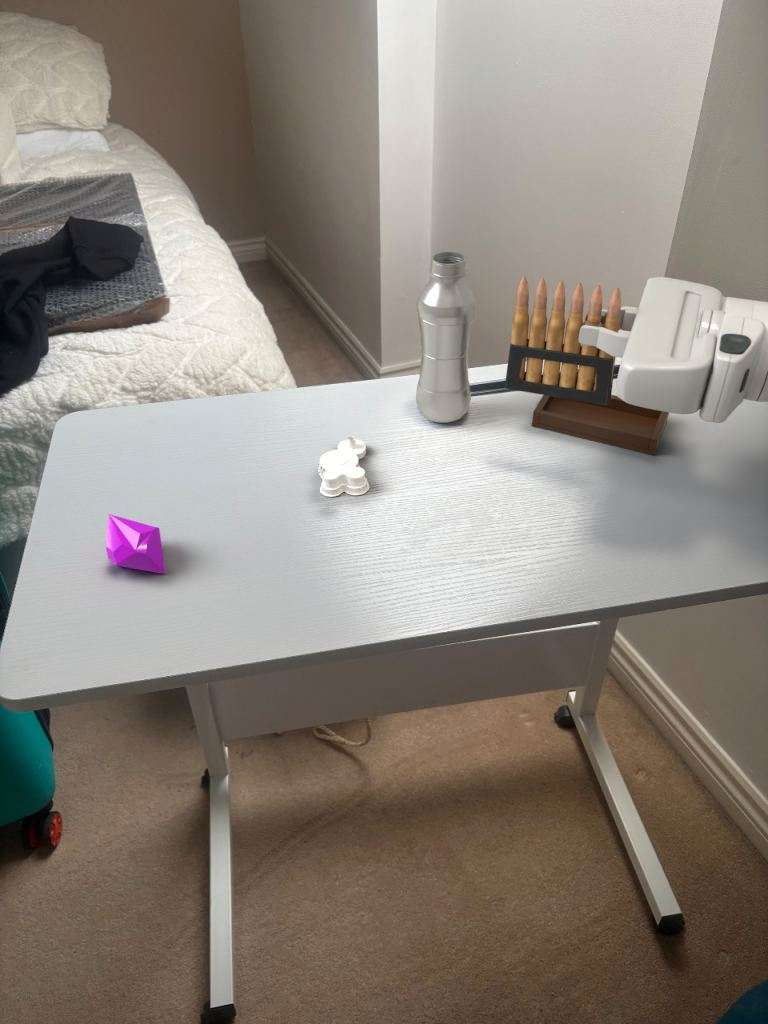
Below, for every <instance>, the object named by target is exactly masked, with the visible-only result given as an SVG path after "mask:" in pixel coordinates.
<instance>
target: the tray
mask: <svg viewBox="0 0 768 1024" xmlns="http://www.w3.org/2000/svg"><path fill="white" fill-rule="evenodd" d="M669 415H670V412H664V411H659V410H653V409H648V408H644V407H639V406H635V405H631V404H628V403H626V402H625V401H623V400H622V399H620V398H619V397H617V396H616V395H615V394H611V398H610V401H609V404H607V405H603V404H596V403H590V402H584V401H578V400H572V399H566V398H560V397H554V396H547V395H542V396H541V398H540V400H539V401H538V403H537V405H536V407H535V408H534V410H533V413H532V421H531V427H534V428H538V429H542V430H546V431H551V432H555V433H560V434H563V435H568V436H571V437H576V438H580V439H584V440H589V441H593V442H597V443H601V444H604V445H605V444H606V445H608V446H609V445H610V446H613V447H617V448H622V449H626V450H630V451H634V452H639V453H642V454H646V455H647V454H648V455H652V456H655V454H656V451H657V449H658V446H659V444H660V442H661V438H662V436H663V434H664V430H665V428H666V426H667V423H668V419H669Z"/></svg>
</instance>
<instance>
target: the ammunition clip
mask: <svg viewBox="0 0 768 1024" xmlns="http://www.w3.org/2000/svg"><path fill="white" fill-rule="evenodd" d="M528 282H529V281H528V279H527V276H525V275H524V276H522V278H521V279H520V282H519V285H518V288H517V293H516V301H515V307H514V313H513V316H512V323H511V338H510V345H509V351H508V359H507V367H506V375H505V382H504V389H505V390H511V391H516V392H524V393H529V394H535V395H541V396H543V395H547V396H554V397H560V398H566V399H572V400H578V401H584V402H590V403H596V404H603V405H607V404H609V401H610V398H611V395H612V393H613V392H612V391H613V384H614V373H615V364H616V358H617V357H614V356H611V355H609V354H608V353H606V352H604V351H602V350H600V349H599V348H597V347H595V346H589V345H583V344H581V343H579V340H578V339H579V332H580V329H581V326H582V324H583V323H584V321H583V319H584V318H583V317H584V305H585V304H584V303H585V295H584V288H583V285H582V283H581V282H579V283H577V285H576V287H575V289H574V292H573V295H572V298H571V301H570V302H571V304H570V310H569V312H568V313H569V314H568V318H567V322H566V319H565V318H566V317H565V314H566V287H565V284H564V281H563V280H560V281H559V283H558V284H557V286H556V289H555V292H554V296H553V299H552V307H551V312H550V316H549V319H548V317H547V308H548V307H547V304H548V303H547V302H548V288H547V283H546V280H545V279H544V278H543V277H542V278H541V279H540V281H539V283H538V285H537V288H536V291H535V296H534V303H533V309H532V314H531V317H530V314H529V299H530V292H529V291H530V289H529V283H528ZM621 307H622V294H621V289H620V288H619V287H615V289H614V291H613V293H612V294H611V297H610V300H609V303H608V306H607V309H608V312H607V316H606V321H605V324H604V328H606V329H609V330H612V331H615V332H618V330H620V329H619V322H620V312H621ZM602 309H603V291H602V287H601V285H599V284H598V285H597V286H596V287H595V288H594V290H593V293H592V296H591V299H590V302H589V308H588V310H589V313H588V317H587V321H591V322H598V323H601V312H602Z"/></svg>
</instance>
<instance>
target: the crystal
mask: <svg viewBox="0 0 768 1024" xmlns="http://www.w3.org/2000/svg"><path fill="white" fill-rule="evenodd" d="M105 538H106V539H105V549H106V555H107V558H108V559H109V561H110V562H111V563H112V564H113V565H114V566H117V567H123V568H128V569H135V570H141V571H147V572H151V573H157V574H163V575H166V567H165V560H164V554H163V553H164V552H163V547H162V546H163V545H162V538H161V530H160V527H158V526H154V525H151V524H146V523H143V522H139V521H137V520H132V519H128V518H125V517H121V516H117V515H114V514H110V513H108V517H107V527H106V537H105Z"/></svg>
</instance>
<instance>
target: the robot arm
mask: <svg viewBox="0 0 768 1024" xmlns="http://www.w3.org/2000/svg"><path fill="white" fill-rule="evenodd" d="M607 312H608V308H607V309H606V308H602V312H601V323H598V322H591V321H587V317H588V313H589V309H588V310H587V312H586V315H585V318H584V321H583V324H582V326H581V329H580V332H579V339H578V340H579V343H581V345H582V344H583V345H589V346H595V347H597V348H599V349H600V350H602V351H604V352H606V353H608V354H609V355H611V356H614V357H616V358H621V360H620V364H619V369H618V372H617V378H616V383H615V389H614V395H615V396H617V397H619V398H620V399H622V400H623V401H625V402H626V403H628V404H631V405H635V406H639V407H644V408H648V409H653V410H659V411H664V412H669V414H676V415H692V414H695V413H698V411H699V418H700V419H701V420H703V421H705V422H707V423H708V422H709V423H714V424H722V423H724V422H725V421H726V420H727V419H728V418H729V417H730V416H731V415H732V413H733V412H734V411H735V410H736V409H737V408H738V407H739V406H740V405H741V404H742V403H743V401H744V400H747V401H751V402H759V403H766V402H768V301H762V300H755V299H749V298H748V299H746V298H740V297H731V296H723V294H722V292H721V291H720V290H719V289H718V288H716V287H713V286H710V285H708V284H707V285H706V284H703V283H699V282H694V281H689V280H684V279H679V278H672V277H667V276H655V277H650V278H648V279H647V281H646V283H645V287H644V289H643V292H642V296H641V298H640V301H639V305H638V307H635V306H628V305H625V306H621V312H620V322H619V330H618V332H615V331H612V330H609V329H606V328H604V324H605V321H606V316H607Z"/></svg>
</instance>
